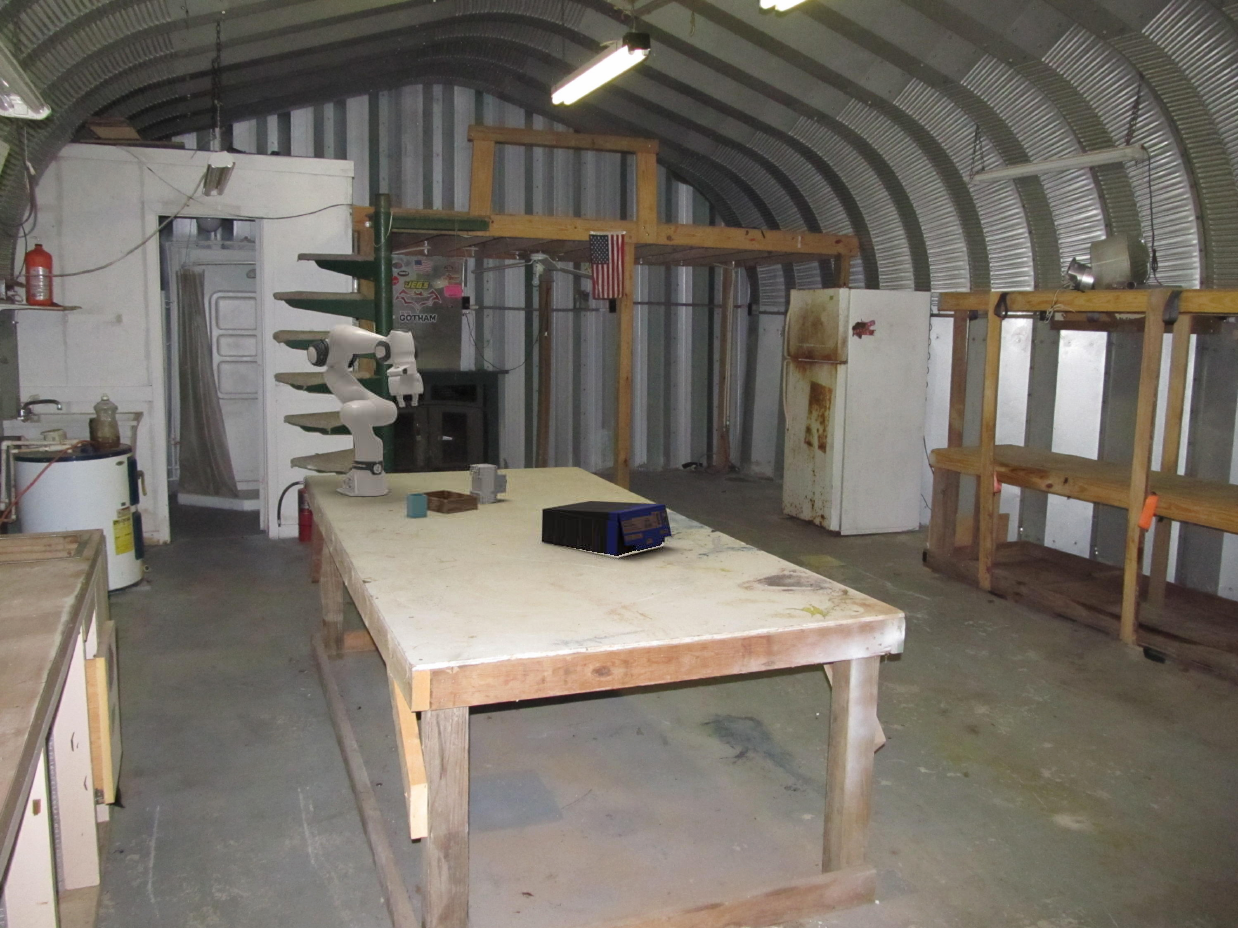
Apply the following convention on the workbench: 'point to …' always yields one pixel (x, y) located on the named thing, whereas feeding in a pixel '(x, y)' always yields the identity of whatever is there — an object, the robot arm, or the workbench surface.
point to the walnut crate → (450, 501)
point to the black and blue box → (606, 526)
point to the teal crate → (416, 505)
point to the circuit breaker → (487, 482)
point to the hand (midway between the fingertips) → (408, 406)
